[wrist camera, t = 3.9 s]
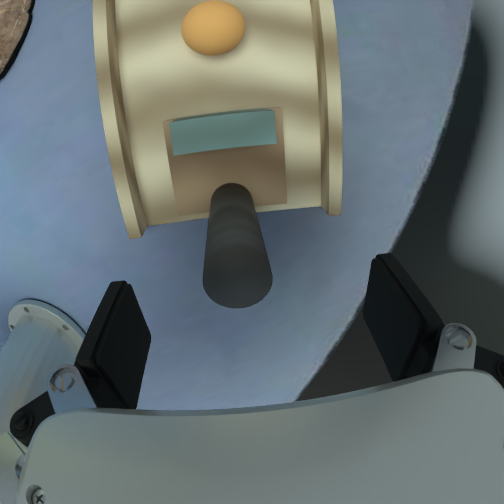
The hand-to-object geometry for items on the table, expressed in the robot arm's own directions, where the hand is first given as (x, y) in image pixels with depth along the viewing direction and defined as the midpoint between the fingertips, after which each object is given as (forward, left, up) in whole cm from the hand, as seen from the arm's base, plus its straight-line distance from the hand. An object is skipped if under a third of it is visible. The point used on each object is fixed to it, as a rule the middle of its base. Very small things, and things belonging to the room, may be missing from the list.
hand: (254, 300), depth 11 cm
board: (+13, +1, -14) cm, 19 cm away
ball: (+12, +1, -11) cm, 16 cm away
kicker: (+2, +1, -12) cm, 13 cm away
